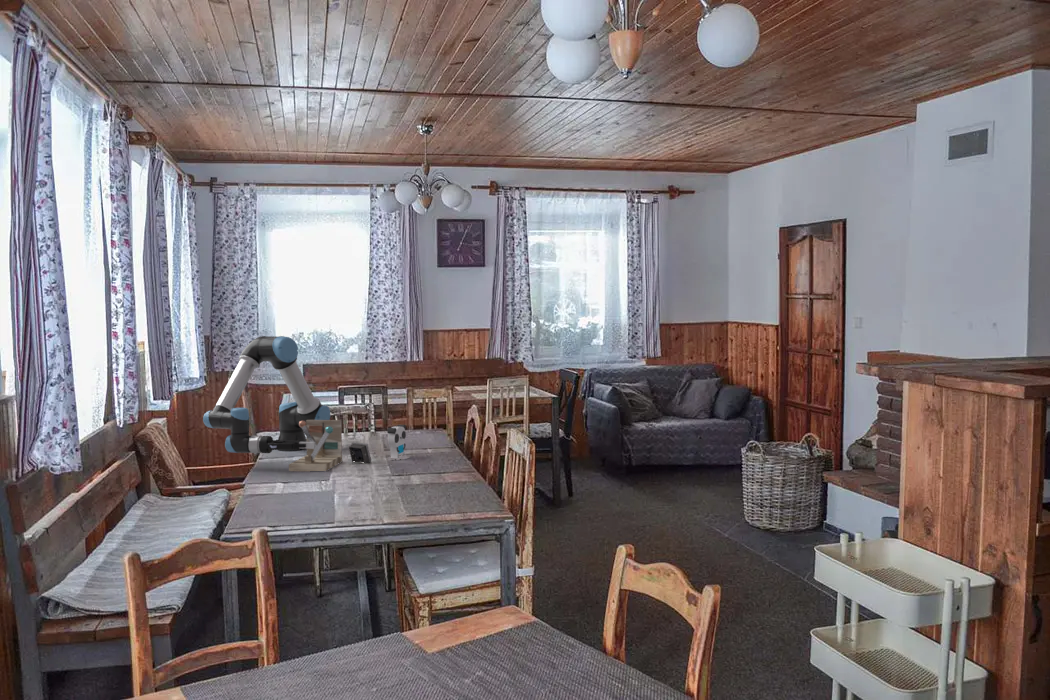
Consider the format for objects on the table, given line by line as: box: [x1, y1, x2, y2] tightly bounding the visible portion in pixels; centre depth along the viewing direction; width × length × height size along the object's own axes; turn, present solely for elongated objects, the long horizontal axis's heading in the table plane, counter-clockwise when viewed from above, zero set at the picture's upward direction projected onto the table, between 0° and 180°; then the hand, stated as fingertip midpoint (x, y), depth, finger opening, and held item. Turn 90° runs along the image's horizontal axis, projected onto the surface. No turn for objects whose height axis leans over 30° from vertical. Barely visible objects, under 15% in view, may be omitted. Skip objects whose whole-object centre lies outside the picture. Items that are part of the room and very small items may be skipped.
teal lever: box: [310, 426, 333, 461], centre depth 355 cm, size 3×3×17 cm
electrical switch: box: [348, 441, 372, 464], centre depth 371 cm, size 9×5×9 cm, turn 57°
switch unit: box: [288, 419, 343, 472], centre depth 363 cm, size 23×16×19 cm
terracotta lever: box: [299, 421, 321, 451], centre depth 370 cm, size 3×3×17 cm
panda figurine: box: [386, 424, 407, 458], centre depth 381 cm, size 12×11×15 cm
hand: (314, 445), depth 354 cm, fingers closed
